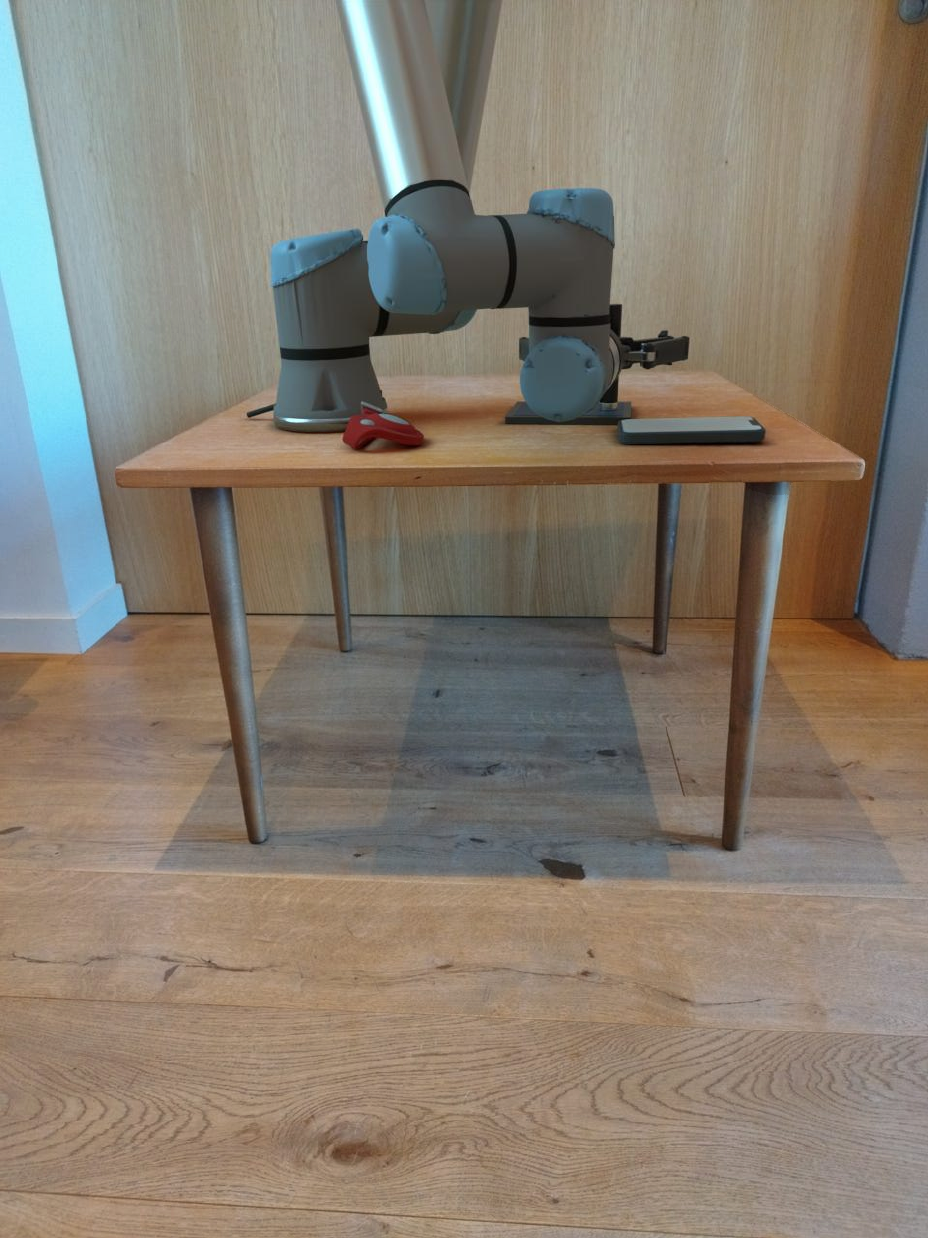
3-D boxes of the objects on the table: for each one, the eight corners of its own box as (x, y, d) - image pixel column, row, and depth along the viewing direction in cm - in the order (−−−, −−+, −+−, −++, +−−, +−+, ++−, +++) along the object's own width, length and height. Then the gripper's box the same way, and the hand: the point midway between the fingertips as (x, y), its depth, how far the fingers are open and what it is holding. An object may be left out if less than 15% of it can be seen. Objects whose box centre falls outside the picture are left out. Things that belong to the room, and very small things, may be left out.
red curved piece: (443, 431, 97) (382, 424, 89) (432, 467, 98) (372, 463, 90) (376, 398, 103) (314, 389, 95) (367, 432, 105) (305, 425, 97)
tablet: (505, 423, 106) (505, 416, 106) (517, 407, 117) (517, 400, 116) (630, 424, 103) (631, 416, 103) (631, 408, 114) (631, 401, 113)
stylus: (596, 410, 108) (600, 304, 102) (601, 407, 110) (606, 303, 104) (614, 411, 107) (619, 304, 101) (619, 408, 109) (624, 303, 103)
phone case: (619, 447, 92) (766, 444, 90) (619, 433, 92) (768, 430, 90) (616, 431, 101) (752, 428, 98) (617, 418, 100) (753, 415, 98)
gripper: (471, 396, 91) (515, 371, 110) (703, 400, 84) (708, 372, 103) (469, 325, 88) (515, 311, 107) (710, 323, 81) (713, 309, 100)
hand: (610, 341), depth 105 cm, fingers open, 13 cm apart
